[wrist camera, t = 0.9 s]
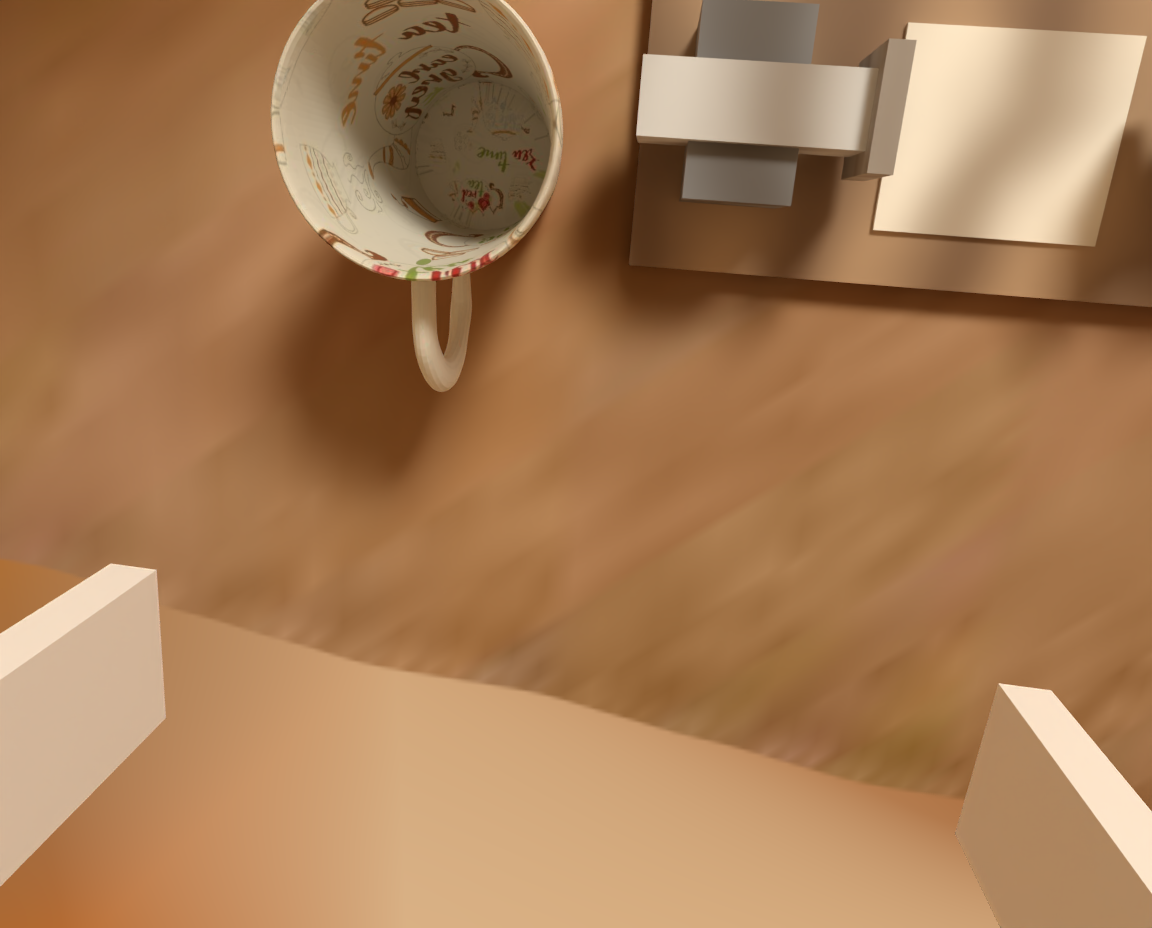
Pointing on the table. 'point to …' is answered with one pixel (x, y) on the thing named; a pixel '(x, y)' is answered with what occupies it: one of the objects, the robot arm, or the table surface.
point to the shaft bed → (901, 144)
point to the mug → (418, 144)
